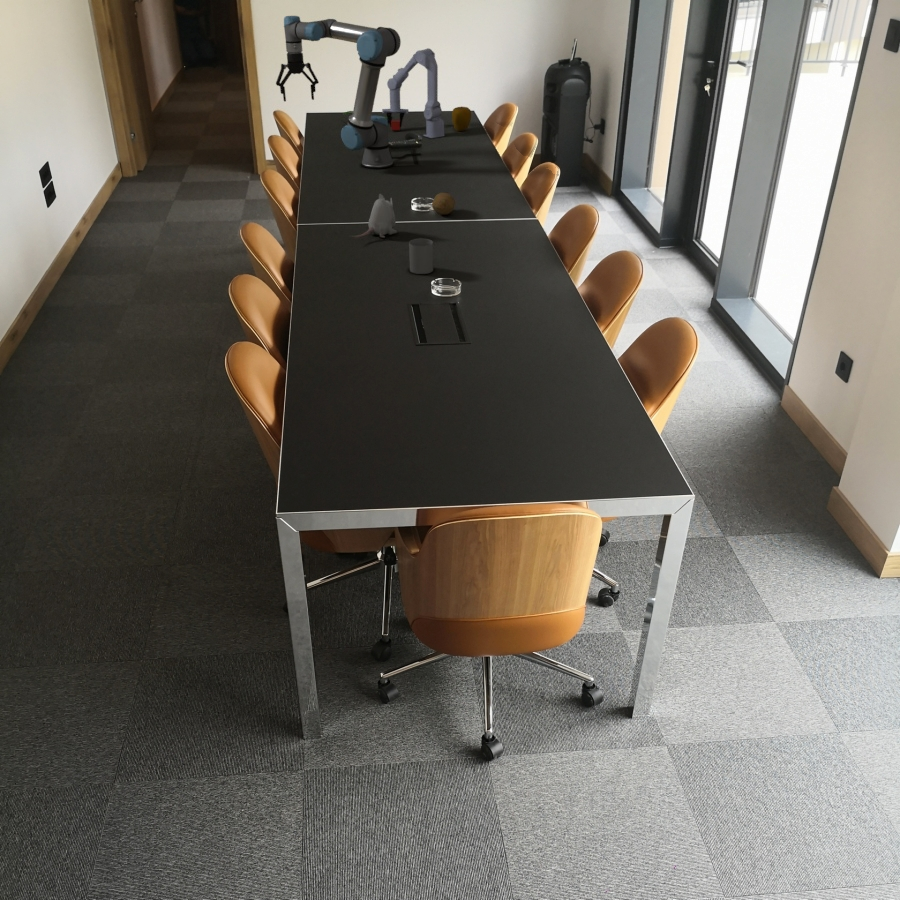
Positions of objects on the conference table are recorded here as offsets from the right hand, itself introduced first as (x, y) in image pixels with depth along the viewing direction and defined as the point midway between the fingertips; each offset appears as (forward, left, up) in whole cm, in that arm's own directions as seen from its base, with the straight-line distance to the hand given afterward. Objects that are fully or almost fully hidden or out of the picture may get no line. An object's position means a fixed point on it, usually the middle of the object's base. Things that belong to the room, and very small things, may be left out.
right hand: (395, 126), depth 489 cm
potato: (+69, +138, -2) cm, 154 cm away
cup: (+114, +185, -2) cm, 217 cm away
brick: (0, 0, -1) cm, 1 cm away
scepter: (+3, -26, -2) cm, 26 cm away
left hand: (+73, +26, +26) cm, 82 cm away
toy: (+109, +146, -2) cm, 182 cm away
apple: (-30, +22, -2) cm, 37 cm away
